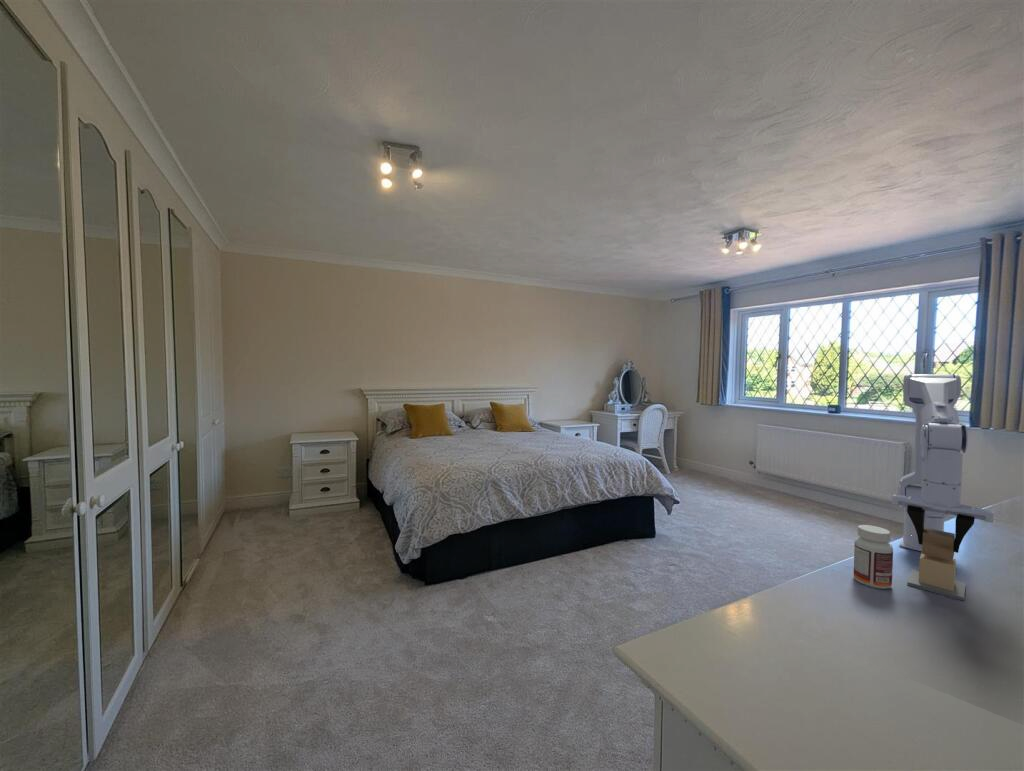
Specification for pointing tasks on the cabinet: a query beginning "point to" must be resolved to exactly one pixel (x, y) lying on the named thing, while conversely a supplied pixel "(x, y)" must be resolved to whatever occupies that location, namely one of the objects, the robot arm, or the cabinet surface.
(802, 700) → the cabinet surface
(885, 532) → the pill bottle
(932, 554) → the walnut block
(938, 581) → the tower base
